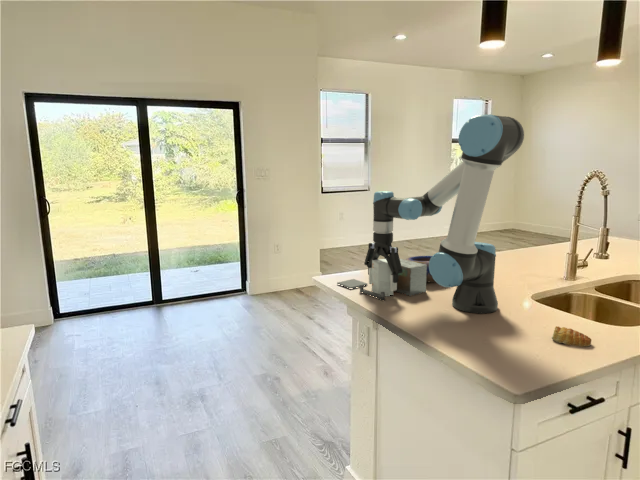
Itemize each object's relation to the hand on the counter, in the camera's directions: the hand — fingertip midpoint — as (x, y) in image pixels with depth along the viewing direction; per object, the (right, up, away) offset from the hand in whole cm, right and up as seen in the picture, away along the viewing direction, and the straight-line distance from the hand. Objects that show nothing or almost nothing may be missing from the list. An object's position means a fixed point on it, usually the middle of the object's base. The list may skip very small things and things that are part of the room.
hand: (382, 286), depth 165 cm
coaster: (-11, -1, +12) cm, 16 cm away
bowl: (+22, +1, +19) cm, 29 cm away
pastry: (+46, -11, -45) cm, 66 cm away
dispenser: (+4, -2, +3) cm, 5 cm away
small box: (0, -3, +1) cm, 3 cm away
